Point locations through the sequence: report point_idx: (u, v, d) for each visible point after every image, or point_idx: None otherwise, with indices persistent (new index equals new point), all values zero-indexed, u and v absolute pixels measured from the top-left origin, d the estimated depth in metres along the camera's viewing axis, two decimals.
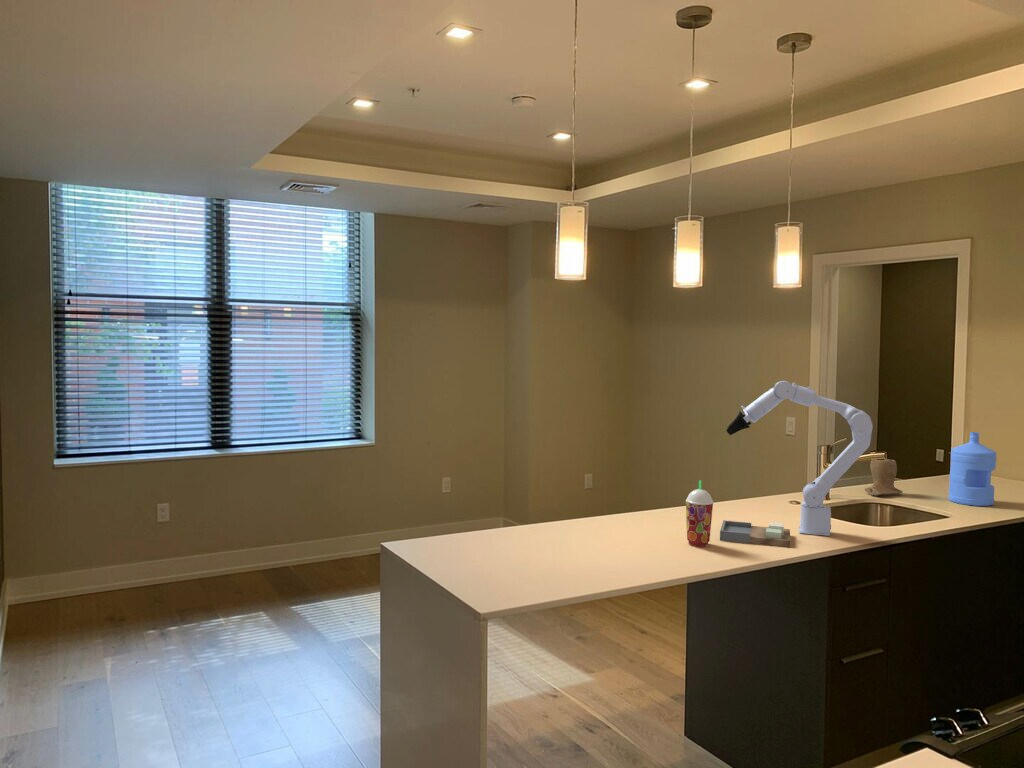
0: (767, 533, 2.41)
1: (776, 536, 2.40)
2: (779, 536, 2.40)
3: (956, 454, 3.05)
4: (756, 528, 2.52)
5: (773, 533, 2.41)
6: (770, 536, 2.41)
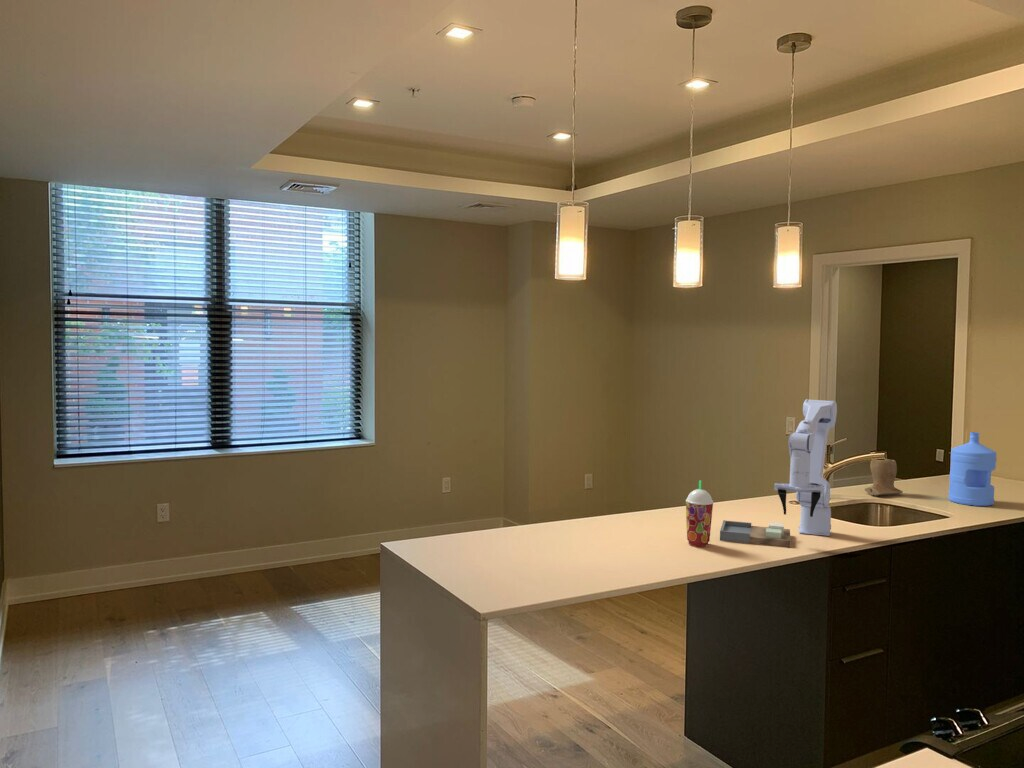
0: (767, 533, 2.41)
1: (776, 536, 2.40)
2: (779, 536, 2.40)
3: (956, 454, 3.05)
4: (756, 528, 2.52)
5: (773, 533, 2.41)
6: (770, 536, 2.41)
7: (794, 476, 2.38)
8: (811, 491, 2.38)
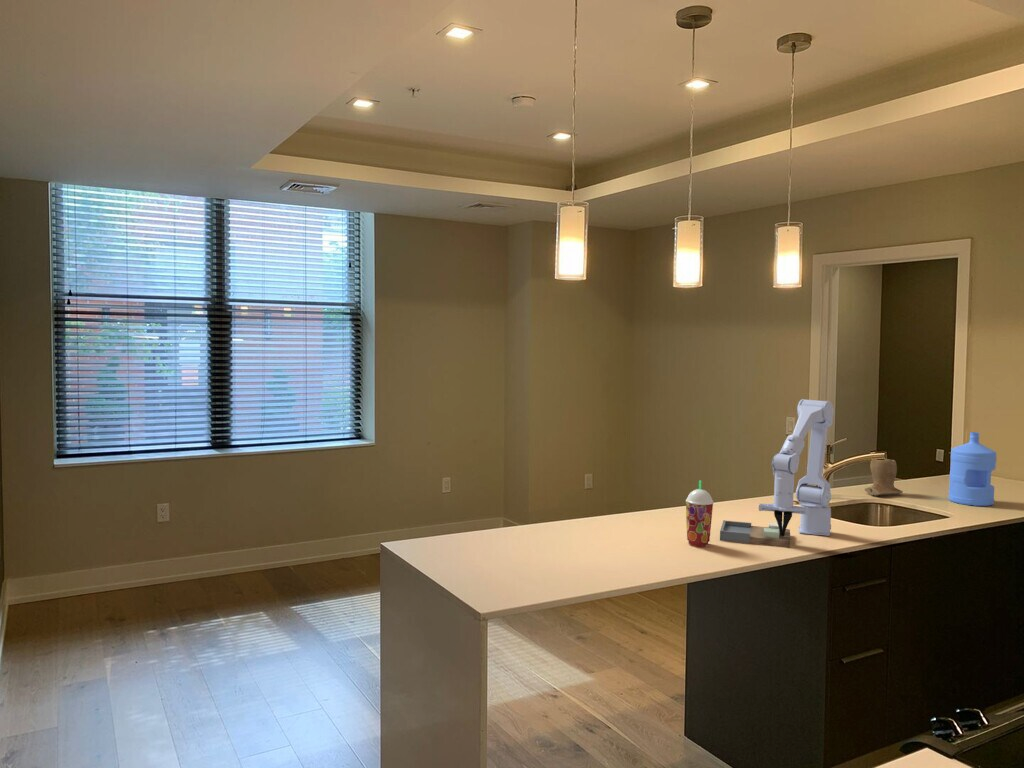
0: (765, 533, 2.42)
1: (774, 536, 2.41)
2: (777, 536, 2.40)
3: (956, 454, 3.05)
4: (756, 528, 2.52)
5: (771, 533, 2.41)
6: (768, 536, 2.41)
7: (778, 497, 2.39)
8: (795, 511, 2.40)
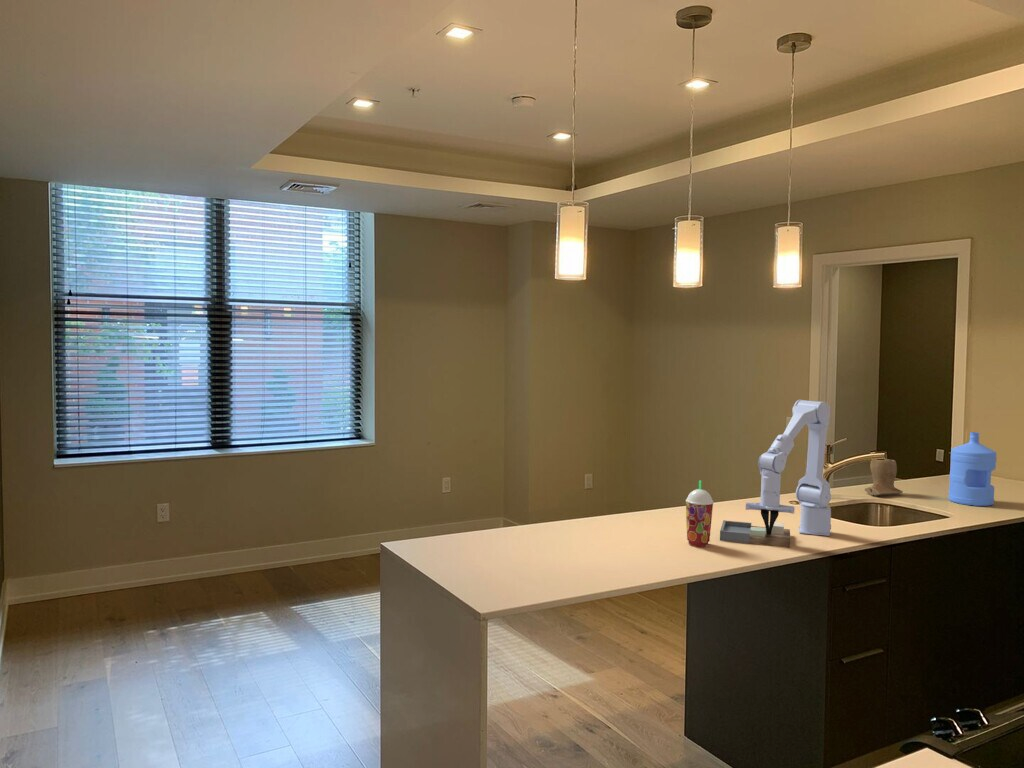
0: (751, 531, 2.43)
1: (760, 534, 2.42)
2: (763, 534, 2.42)
3: (956, 454, 3.05)
4: None
5: (758, 532, 2.42)
6: (754, 534, 2.43)
7: (765, 496, 2.41)
8: (781, 510, 2.41)
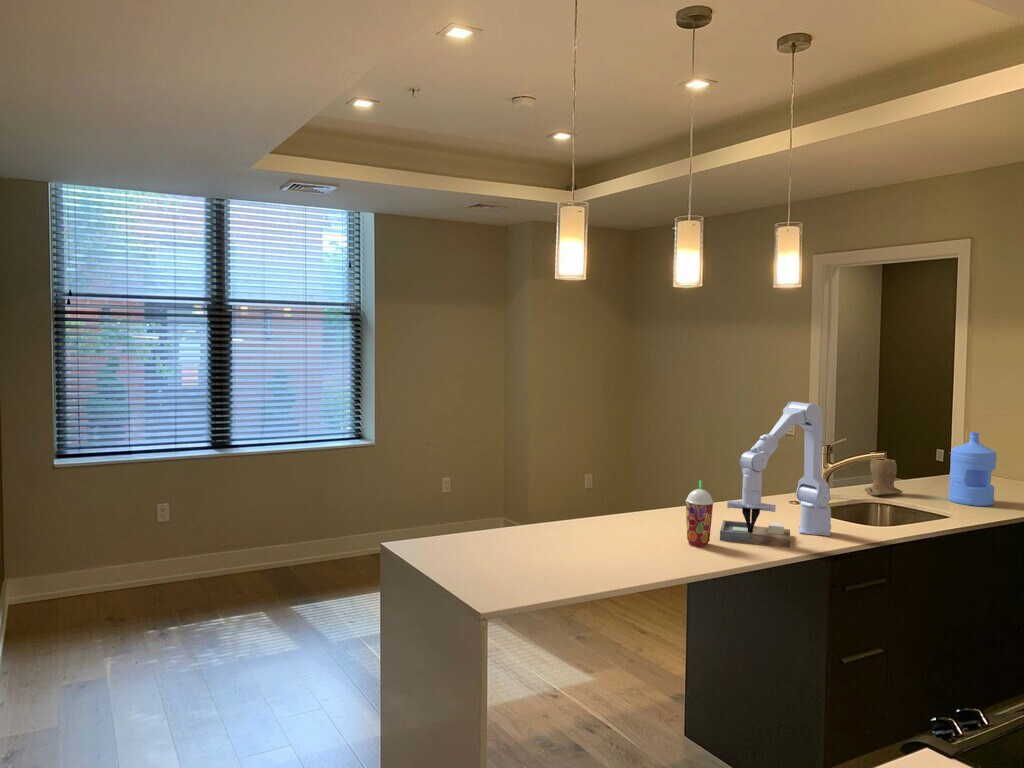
0: (733, 531, 2.45)
1: None
2: None
3: (956, 454, 3.05)
4: (756, 528, 2.52)
5: None
6: None
7: (746, 494, 2.43)
8: (763, 509, 2.43)
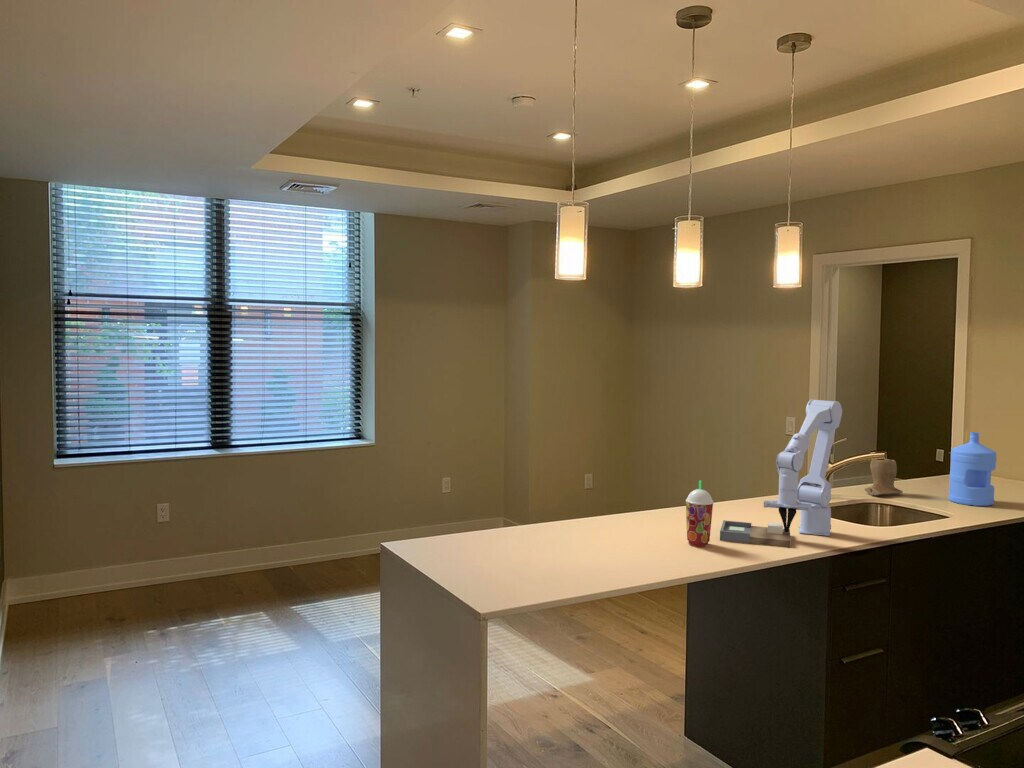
0: None
1: None
2: None
3: (956, 454, 3.05)
4: (756, 528, 2.52)
5: (736, 531, 2.44)
6: None
7: (782, 494, 2.44)
8: (799, 508, 2.45)
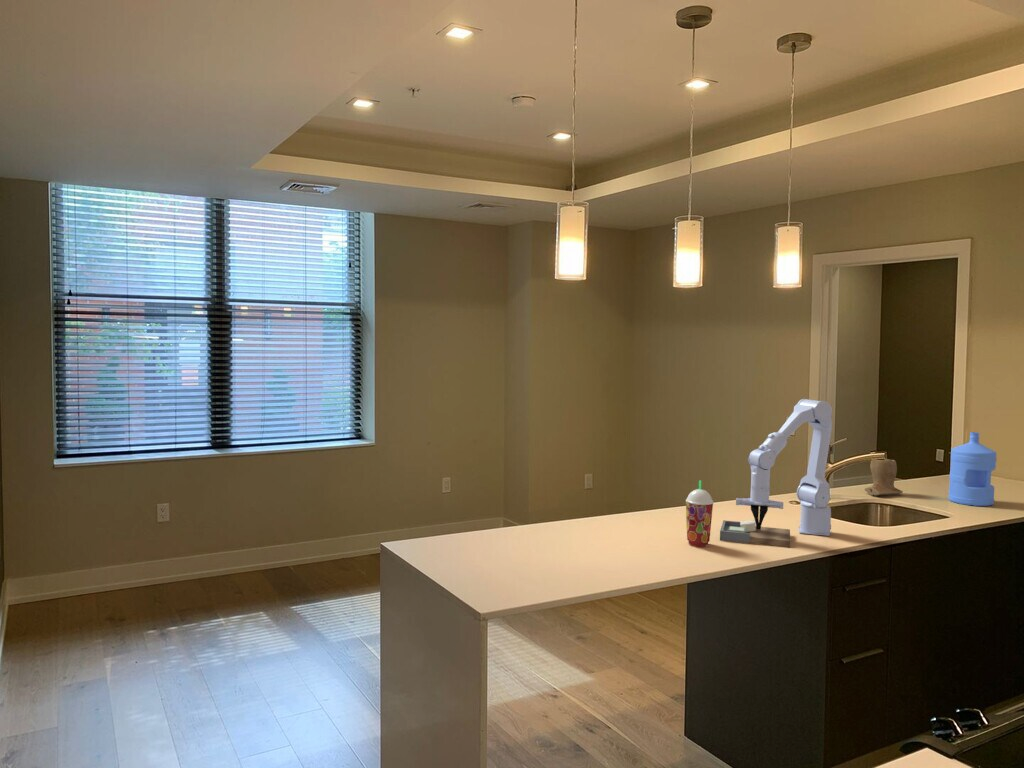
0: None
1: None
2: None
3: (956, 454, 3.05)
4: None
5: (736, 531, 2.44)
6: None
7: (754, 491, 2.47)
8: (771, 506, 2.48)
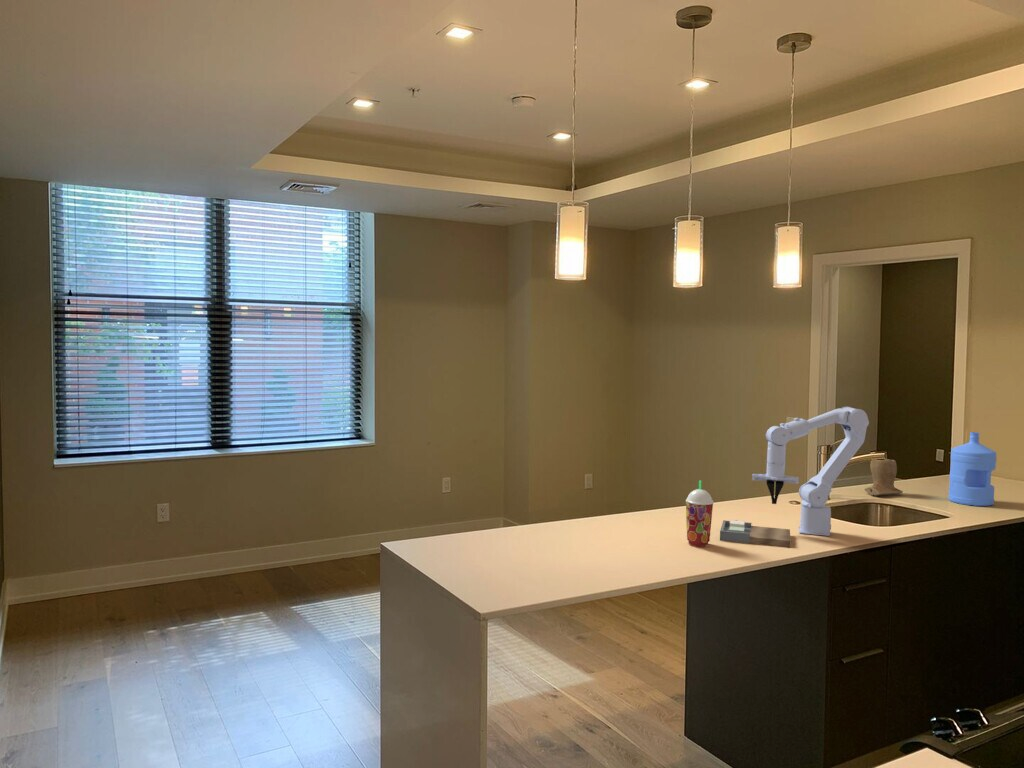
0: None
1: None
2: None
3: (956, 454, 3.05)
4: (756, 528, 2.52)
5: (736, 531, 2.44)
6: None
7: (770, 467, 2.54)
8: (786, 481, 2.54)
